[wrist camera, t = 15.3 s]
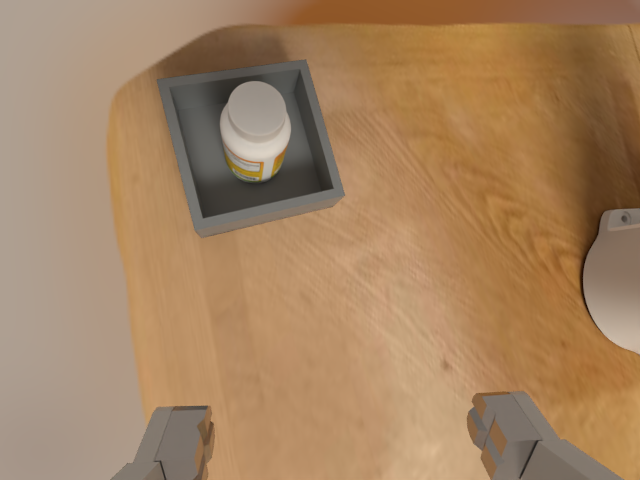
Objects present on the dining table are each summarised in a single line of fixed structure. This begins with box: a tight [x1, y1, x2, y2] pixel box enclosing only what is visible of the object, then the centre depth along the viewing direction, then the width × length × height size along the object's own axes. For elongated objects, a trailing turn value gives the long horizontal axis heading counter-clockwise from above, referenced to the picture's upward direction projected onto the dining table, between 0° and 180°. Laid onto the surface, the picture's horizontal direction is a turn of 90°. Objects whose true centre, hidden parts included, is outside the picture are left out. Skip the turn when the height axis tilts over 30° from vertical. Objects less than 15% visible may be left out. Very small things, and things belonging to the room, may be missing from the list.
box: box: [157, 60, 345, 238], centre depth 32 cm, size 13×13×4 cm
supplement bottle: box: [220, 81, 291, 183], centre depth 29 cm, size 5×5×10 cm
